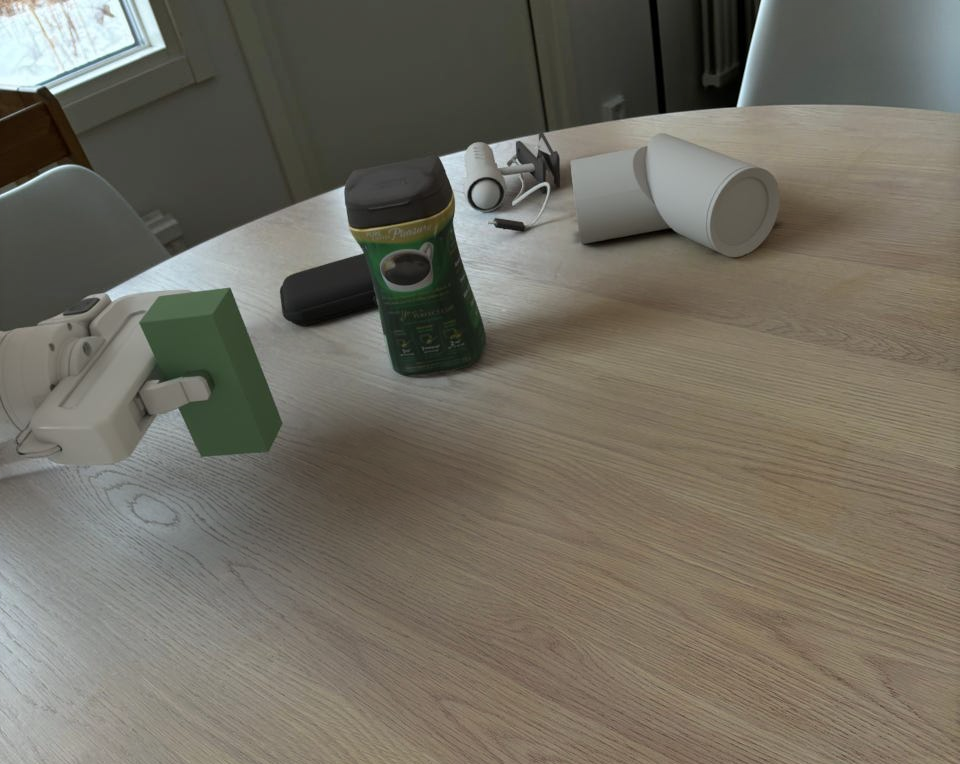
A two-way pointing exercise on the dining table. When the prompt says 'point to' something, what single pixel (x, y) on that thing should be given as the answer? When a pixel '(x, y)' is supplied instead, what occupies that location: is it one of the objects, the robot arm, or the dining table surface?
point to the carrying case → (327, 291)
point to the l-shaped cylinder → (675, 195)
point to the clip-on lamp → (489, 184)
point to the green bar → (214, 370)
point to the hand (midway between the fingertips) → (221, 365)
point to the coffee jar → (415, 265)
